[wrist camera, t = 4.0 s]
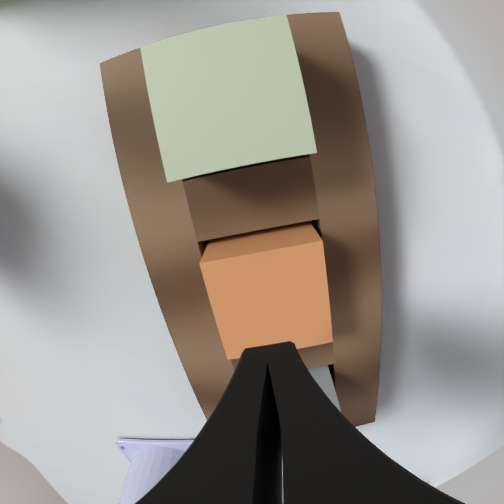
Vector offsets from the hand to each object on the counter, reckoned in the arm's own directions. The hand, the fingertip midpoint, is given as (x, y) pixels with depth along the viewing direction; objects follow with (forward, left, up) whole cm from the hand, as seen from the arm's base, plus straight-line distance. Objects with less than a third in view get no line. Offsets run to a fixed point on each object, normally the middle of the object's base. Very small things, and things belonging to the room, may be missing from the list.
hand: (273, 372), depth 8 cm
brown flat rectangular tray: (0, 0, -8) cm, 8 cm away
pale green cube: (+8, 0, -6) cm, 10 cm away
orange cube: (0, 0, -8) cm, 8 cm away
